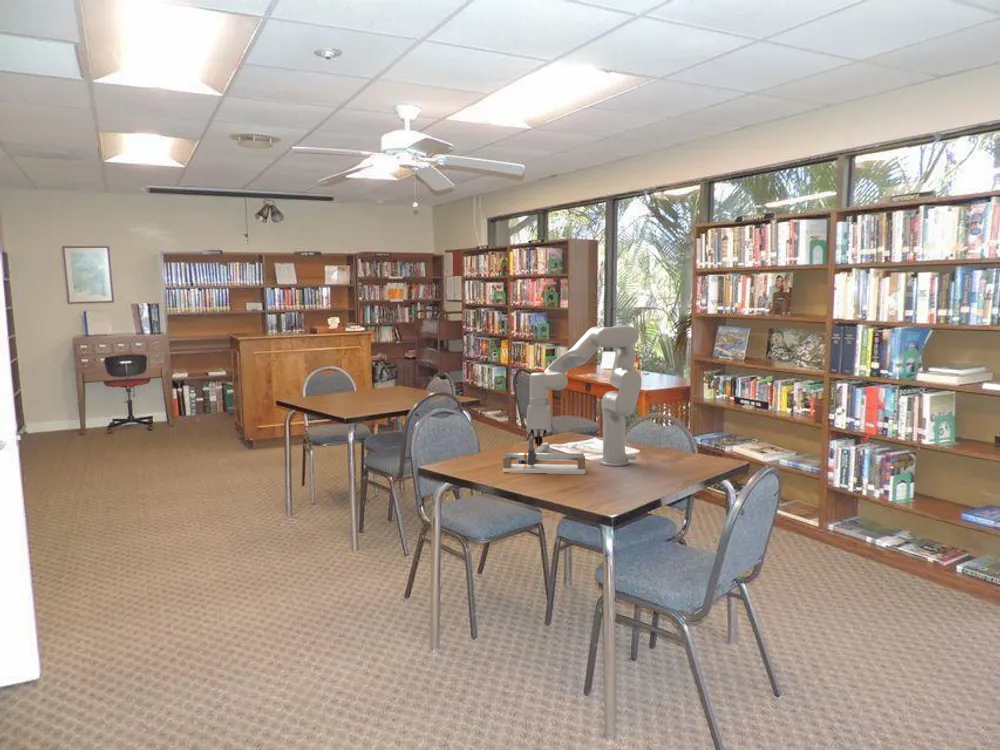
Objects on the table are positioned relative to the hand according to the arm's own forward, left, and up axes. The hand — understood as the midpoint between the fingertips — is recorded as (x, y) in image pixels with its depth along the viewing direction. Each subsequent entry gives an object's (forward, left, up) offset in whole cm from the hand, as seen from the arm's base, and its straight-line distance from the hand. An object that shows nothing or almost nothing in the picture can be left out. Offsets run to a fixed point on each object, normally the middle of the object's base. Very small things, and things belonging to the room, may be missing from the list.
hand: (538, 445), depth 294 cm
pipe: (-2, 0, -6) cm, 7 cm away
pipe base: (-2, 0, -11) cm, 11 cm away
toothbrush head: (+2, -20, -11) cm, 23 cm away
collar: (+3, 0, -8) cm, 8 cm away
